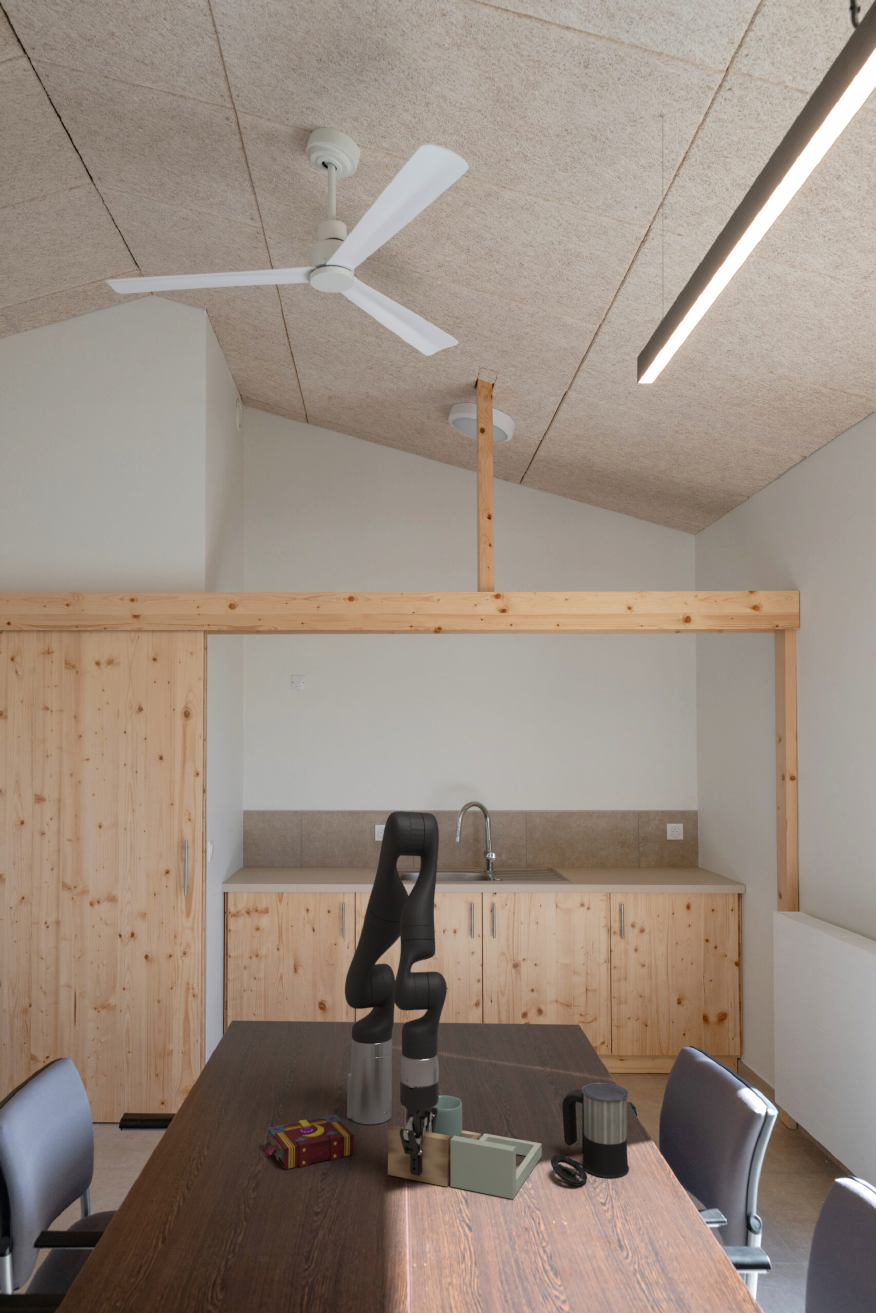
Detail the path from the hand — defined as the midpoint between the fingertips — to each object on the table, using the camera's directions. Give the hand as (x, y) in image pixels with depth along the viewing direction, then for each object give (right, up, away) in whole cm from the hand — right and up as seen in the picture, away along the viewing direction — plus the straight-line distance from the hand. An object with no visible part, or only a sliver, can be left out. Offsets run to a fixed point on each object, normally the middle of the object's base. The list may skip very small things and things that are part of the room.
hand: (418, 1170), depth 172 cm
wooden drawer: (+4, -2, +8) cm, 9 cm away
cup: (+5, -3, +11) cm, 13 cm away
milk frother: (+34, -2, +3) cm, 34 cm away
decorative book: (-23, -3, +11) cm, 26 cm away
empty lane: (+16, -2, +4) cm, 16 cm away
